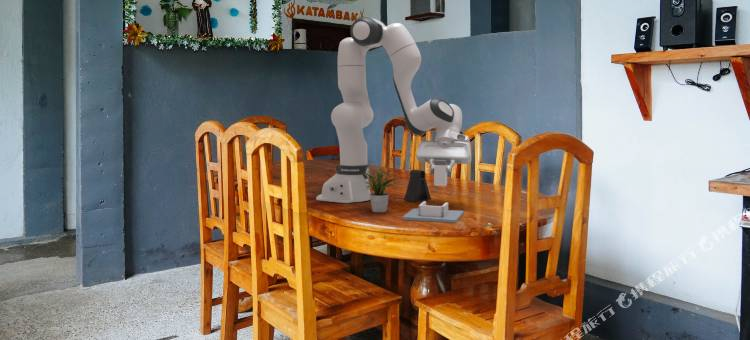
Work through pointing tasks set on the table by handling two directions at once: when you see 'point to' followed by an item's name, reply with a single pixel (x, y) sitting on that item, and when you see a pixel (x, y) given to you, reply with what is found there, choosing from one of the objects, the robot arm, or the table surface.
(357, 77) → the robot arm
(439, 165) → the cable plug
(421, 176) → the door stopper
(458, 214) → the dock board
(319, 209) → the table surface
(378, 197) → the house plant
